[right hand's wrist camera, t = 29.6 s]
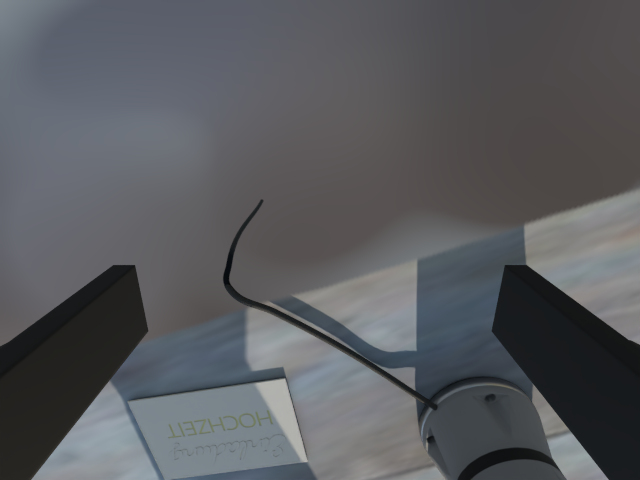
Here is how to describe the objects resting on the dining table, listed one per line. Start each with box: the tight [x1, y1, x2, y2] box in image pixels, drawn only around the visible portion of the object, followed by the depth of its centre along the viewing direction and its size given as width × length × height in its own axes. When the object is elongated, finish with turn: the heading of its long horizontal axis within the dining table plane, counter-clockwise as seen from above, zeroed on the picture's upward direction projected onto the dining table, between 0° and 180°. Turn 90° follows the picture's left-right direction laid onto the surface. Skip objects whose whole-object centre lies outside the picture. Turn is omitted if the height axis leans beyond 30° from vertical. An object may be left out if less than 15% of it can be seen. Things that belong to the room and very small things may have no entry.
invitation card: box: [128, 378, 308, 480], centre depth 47 cm, size 21×1×15 cm
